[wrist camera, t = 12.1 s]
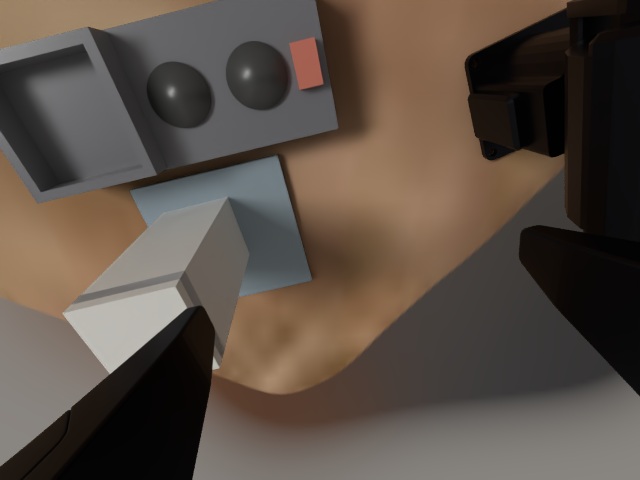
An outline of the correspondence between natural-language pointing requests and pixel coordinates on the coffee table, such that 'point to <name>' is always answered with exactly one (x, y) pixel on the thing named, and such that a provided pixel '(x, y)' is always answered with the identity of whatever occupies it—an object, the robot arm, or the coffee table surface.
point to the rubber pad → (242, 217)
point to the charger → (165, 283)
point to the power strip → (162, 93)
